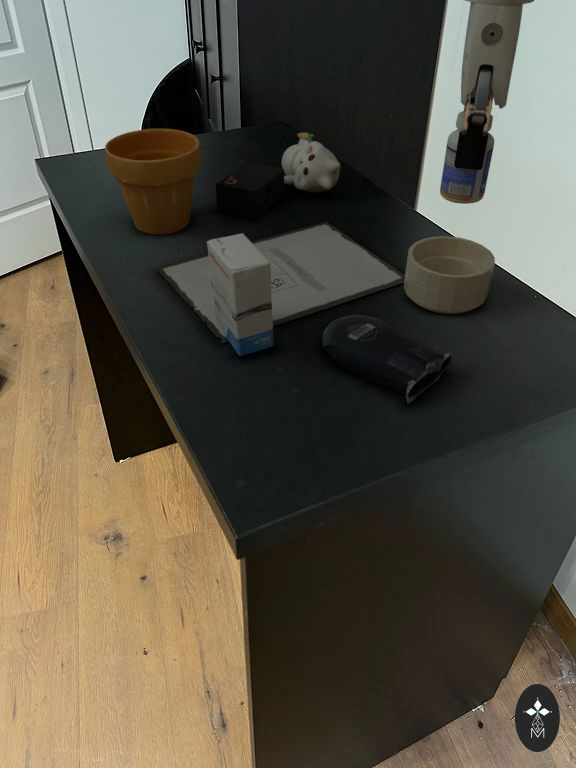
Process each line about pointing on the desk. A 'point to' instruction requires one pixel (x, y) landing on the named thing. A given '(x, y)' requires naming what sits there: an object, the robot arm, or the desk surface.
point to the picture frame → (293, 274)
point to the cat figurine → (310, 166)
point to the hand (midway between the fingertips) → (468, 157)
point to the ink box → (241, 293)
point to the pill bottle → (464, 170)
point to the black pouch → (383, 354)
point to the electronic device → (250, 190)
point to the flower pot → (156, 176)
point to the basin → (448, 274)
